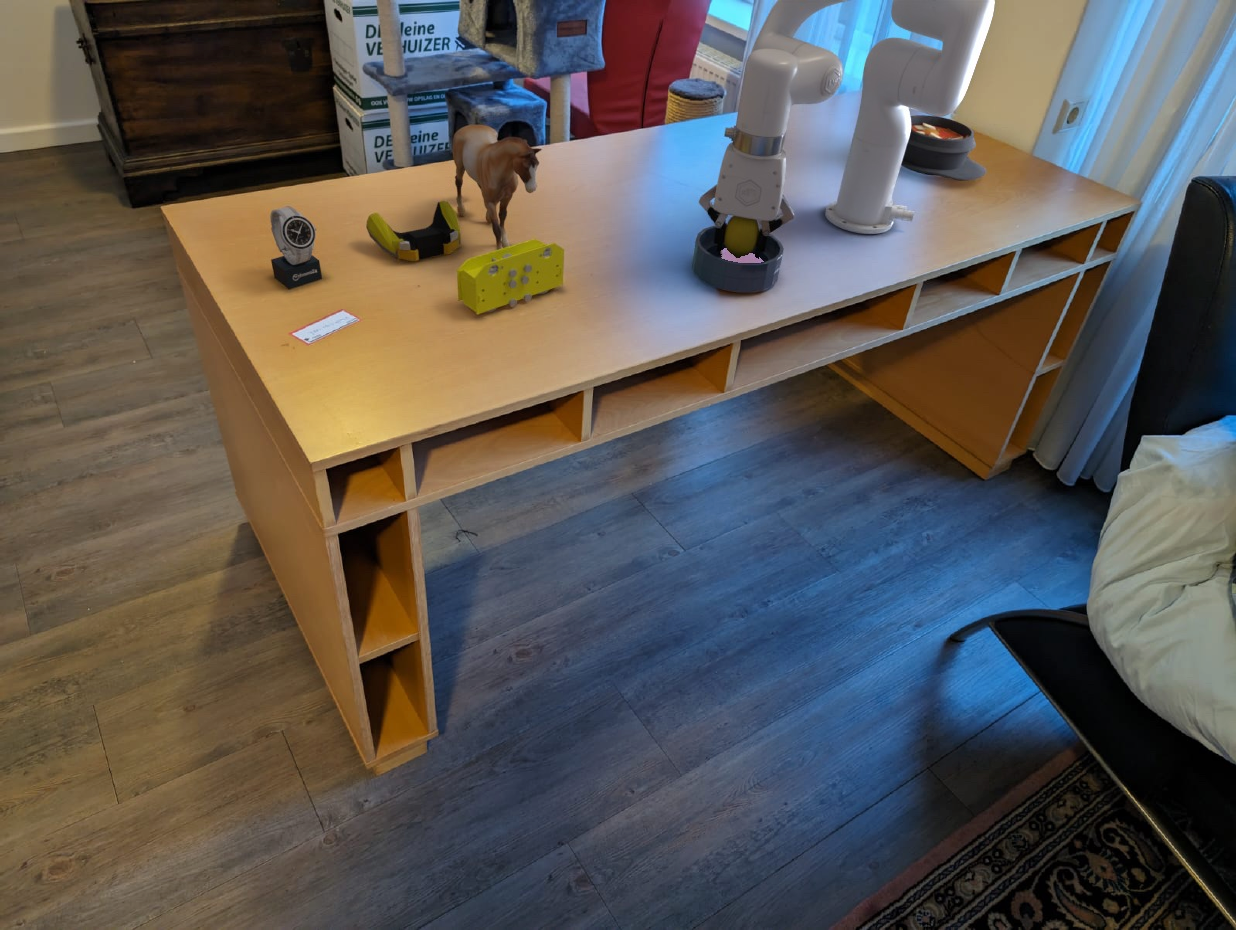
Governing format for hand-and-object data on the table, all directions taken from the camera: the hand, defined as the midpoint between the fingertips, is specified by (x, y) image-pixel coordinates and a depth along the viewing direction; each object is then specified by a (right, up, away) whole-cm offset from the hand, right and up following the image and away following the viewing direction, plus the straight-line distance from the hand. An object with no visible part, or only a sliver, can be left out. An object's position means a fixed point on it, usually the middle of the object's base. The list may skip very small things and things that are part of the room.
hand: (738, 250), depth 143 cm
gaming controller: (-52, +1, +2) cm, 52 cm away
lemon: (0, -1, +1) cm, 2 cm away
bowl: (0, -3, +3) cm, 4 cm away
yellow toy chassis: (-36, -9, -8) cm, 38 cm away
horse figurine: (-39, +5, +8) cm, 40 cm away
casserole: (+47, +29, +47) cm, 73 cm away
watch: (-68, -7, -9) cm, 69 cm away
